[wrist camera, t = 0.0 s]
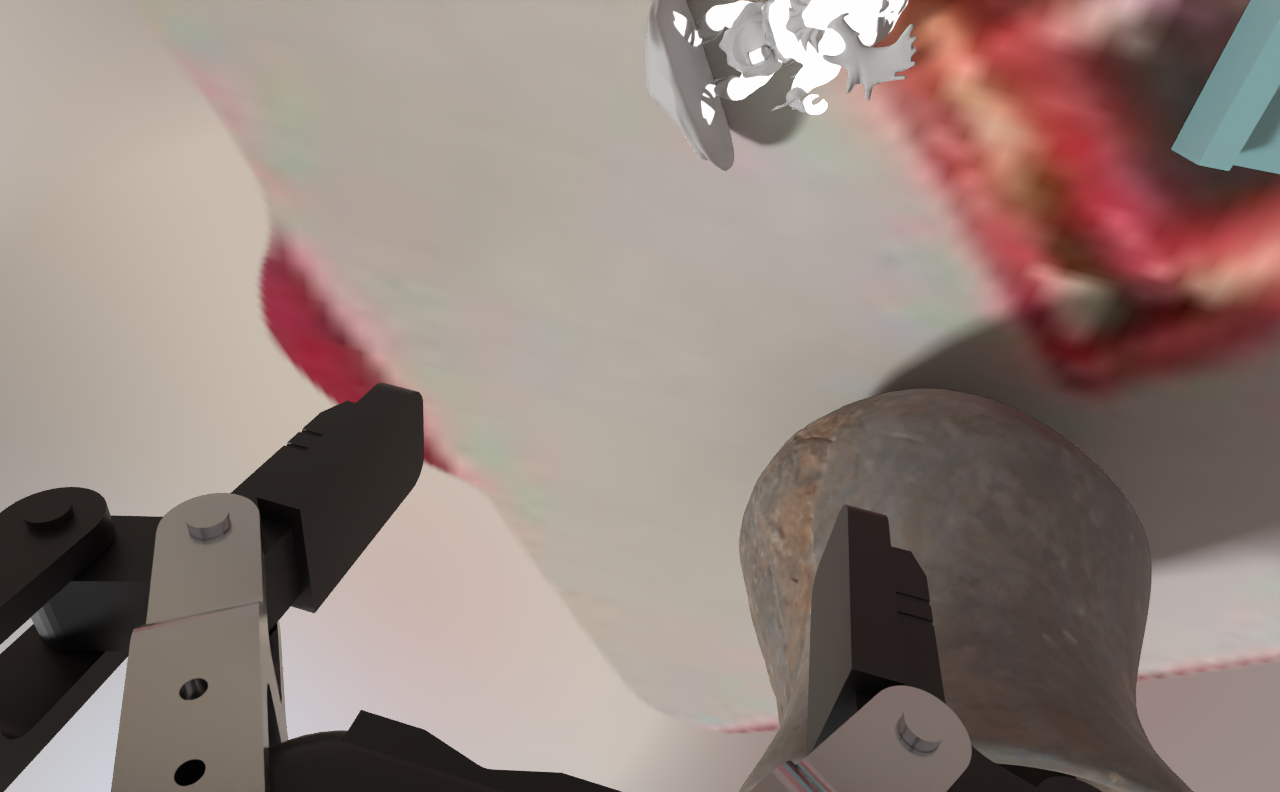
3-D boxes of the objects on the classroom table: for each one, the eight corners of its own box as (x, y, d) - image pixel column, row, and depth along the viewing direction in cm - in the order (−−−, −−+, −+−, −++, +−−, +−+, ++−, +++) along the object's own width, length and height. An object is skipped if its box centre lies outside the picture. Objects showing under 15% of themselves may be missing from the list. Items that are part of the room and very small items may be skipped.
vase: (1166, 446, 41) (1504, 946, 21) (930, 620, 52) (995, 1069, 31) (884, 257, 40) (940, 596, 19) (697, 477, 50) (599, 852, 29)
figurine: (596, -5, 32) (868, -153, 26) (652, -12, 37) (892, -138, 31) (671, 196, 36) (929, 108, 29) (713, 165, 40) (942, 83, 34)
